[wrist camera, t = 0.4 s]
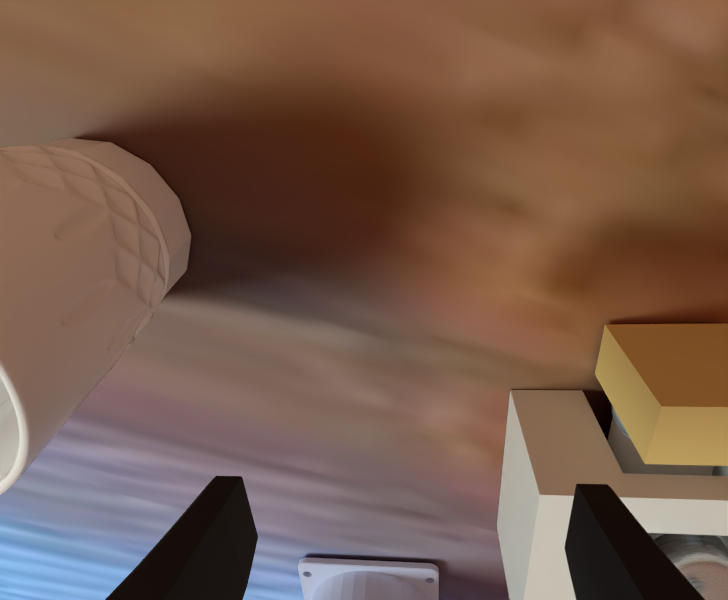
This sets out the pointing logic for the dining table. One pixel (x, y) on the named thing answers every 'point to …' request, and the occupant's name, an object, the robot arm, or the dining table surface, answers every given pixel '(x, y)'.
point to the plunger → (699, 561)
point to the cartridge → (666, 397)
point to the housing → (558, 482)
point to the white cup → (75, 279)
